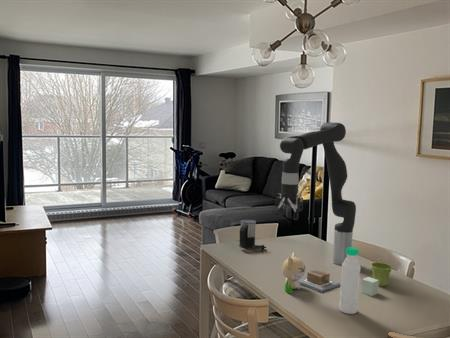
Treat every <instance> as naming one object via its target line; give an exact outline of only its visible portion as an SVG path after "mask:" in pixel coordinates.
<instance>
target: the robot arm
mask: <svg viewBox="0 0 450 338" xmlns="http://www.w3.org/2000/svg"><path fill="white" fill-rule="evenodd" d="M346 134H347V130H346V126H345V124H342V123H341V122H328V121H327V122H323V123H322V124H321V125H320V130H316V131H315V130H314V131H310V132H305V133H302V134H299V135H292V136H286V137H284V138H283V139H282V140H281V141H280V144H279V149H280V151H281V152H282V153H284V154H290V156H289V158H286V159H284V160H283V162H282V175H281V184H280V185H281V187H280V188H281V189H280V192H281V193H279V192H278V193H275V207H277V208H278V217H280V218H281V217H284V210H285V209H284V207H285V206H290V207H291V208H292V210H293V218H292V219H293V221H298V220H299V218H300V217H299V214H300V212H301V211H302V212H303V210H304V198H303V197H302V196H301V197H298V193H299V181H300V178H299V176H300V175H299V169H300V166H299V165H300V162H301V158H302V156H303V153H304V150H307V149H311V148H313V147H316V146H319V145H322V146H323V151H324V154H325V159H326V166H327V167H326V168H327V173H328V180H329V185H330V186H329V187H330V194H331V209H332V213H333V215H334V216H336V217H339V218H343V221H342V222H339V223H335V224H334V231H333V232H334V233H333V234H334V235H333V247H332V248H333V249H332V263H334V264H335V265H340V266H342V264H343V262H344V260H345V258H346V257H347V255H346V248H348V247H353V233H354V231H353V230H354V227H355V220H356V214H357V213H356V212H357V206H356V203H355V202H354V201H352V200H346V199H343V194H342V192H343V191H342V190H343V188H344V185H345V184H346V182H347V179H348V169H347V164H346V162H345V160H344V158H343V157H342V156H341V154H340V153H339V152H338V151H337V148H336V145H335V143H336V142H341V141H342V140H344V139H345V138H346Z"/></svg>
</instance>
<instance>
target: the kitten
mask: <svg viewBox="0 0 450 338" xmlns="http://www.w3.org/2000/svg"><path fill="white" fill-rule="evenodd" d="M281 271H282V275H283V277H285V282H284V283H285V285H284V292H285V293H286V294H292V293H293V290H295V289H297V290H300V289H301V286H302V285H300V282H299V279H302V278H304V275H305V273H306V265H305V264H304V262H303V260H302V259H301V258H299V257H296V251H293V252H292V254H291V255H290V256H289V257H288V258H286V259H285V260H284V261H283V264H282V266H281Z"/></svg>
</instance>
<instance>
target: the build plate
mask: <svg viewBox="0 0 450 338" xmlns="http://www.w3.org/2000/svg"><path fill="white" fill-rule="evenodd" d="M299 282H300V285H301V286H303V287H305V286H306V287H305V288H308V289H311V290H313V289H314V291H316V290H317V292H319V293H323V291H324V292H326V290H327V291H328V290H331V289H335V288H337V287H341V282H339V281H336V280H333V279H330V278H329V283H326V284H323V285H320V286H319V285H317V284H314V283H311V282H308V281H307V276H305V277H302V278H300V279H299Z"/></svg>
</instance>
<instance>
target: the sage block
mask: <svg viewBox="0 0 450 338" xmlns="http://www.w3.org/2000/svg"><path fill="white" fill-rule="evenodd" d="M361 281H362V282H361V293H363V294H365V295H367V296H370V297H373V296H375V295H377V294H379V280H377V279H374V278H373V277H370V276H368V277H364V278H362V280H361Z"/></svg>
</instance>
